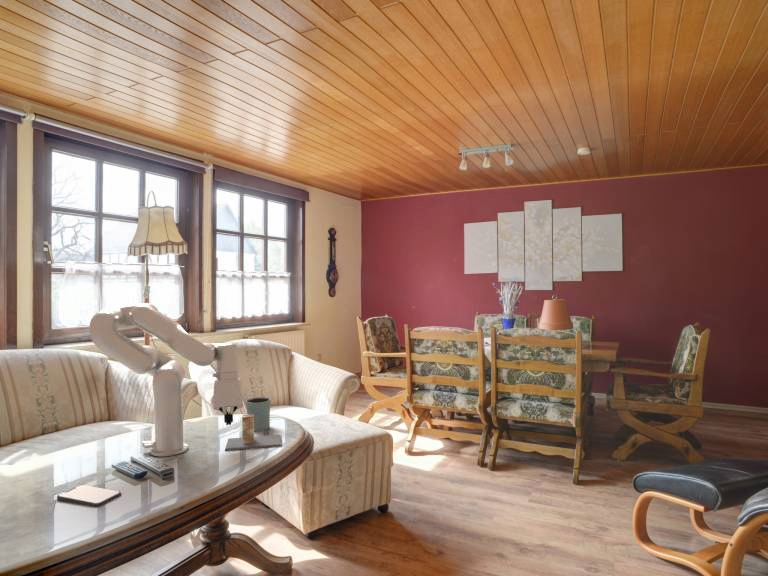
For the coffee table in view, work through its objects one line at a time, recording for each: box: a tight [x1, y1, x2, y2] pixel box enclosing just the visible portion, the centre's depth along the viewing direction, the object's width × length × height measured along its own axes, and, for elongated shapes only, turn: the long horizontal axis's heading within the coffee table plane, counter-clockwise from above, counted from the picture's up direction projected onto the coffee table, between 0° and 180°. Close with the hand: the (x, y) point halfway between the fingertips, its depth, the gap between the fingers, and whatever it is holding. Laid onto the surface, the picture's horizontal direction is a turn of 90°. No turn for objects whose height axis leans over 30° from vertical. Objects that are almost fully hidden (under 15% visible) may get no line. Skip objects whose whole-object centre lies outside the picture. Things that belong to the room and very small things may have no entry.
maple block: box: [241, 414, 255, 444], centre depth 189 cm, size 4×4×10 cm
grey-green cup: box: [245, 396, 272, 432], centre depth 209 cm, size 10×10×12 cm
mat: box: [224, 434, 282, 452], centre depth 190 cm, size 20×12×1 cm, turn 102°
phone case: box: [56, 484, 122, 508], centre depth 144 cm, size 9×2×16 cm
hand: (228, 424), depth 188 cm, fingers closed
